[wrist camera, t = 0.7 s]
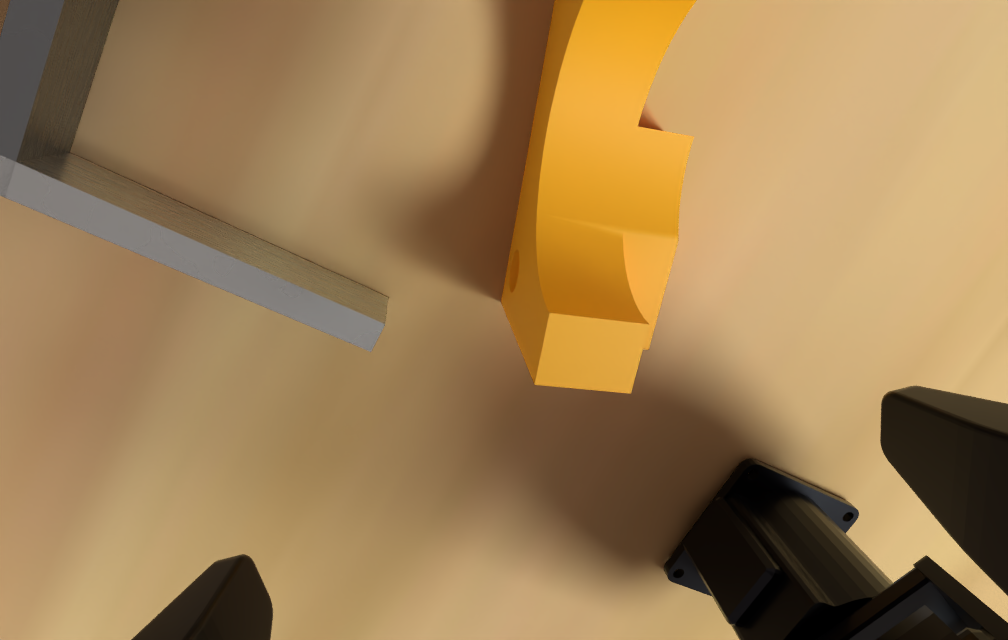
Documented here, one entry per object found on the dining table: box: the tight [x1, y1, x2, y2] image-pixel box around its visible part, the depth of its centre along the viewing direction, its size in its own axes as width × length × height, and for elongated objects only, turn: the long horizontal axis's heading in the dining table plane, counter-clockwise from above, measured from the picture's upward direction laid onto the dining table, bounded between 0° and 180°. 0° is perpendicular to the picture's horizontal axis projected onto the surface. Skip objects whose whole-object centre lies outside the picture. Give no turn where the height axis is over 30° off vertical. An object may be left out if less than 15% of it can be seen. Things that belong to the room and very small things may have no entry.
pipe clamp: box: [501, 0, 696, 394], centre depth 16 cm, size 12×4×6 cm, turn 170°
